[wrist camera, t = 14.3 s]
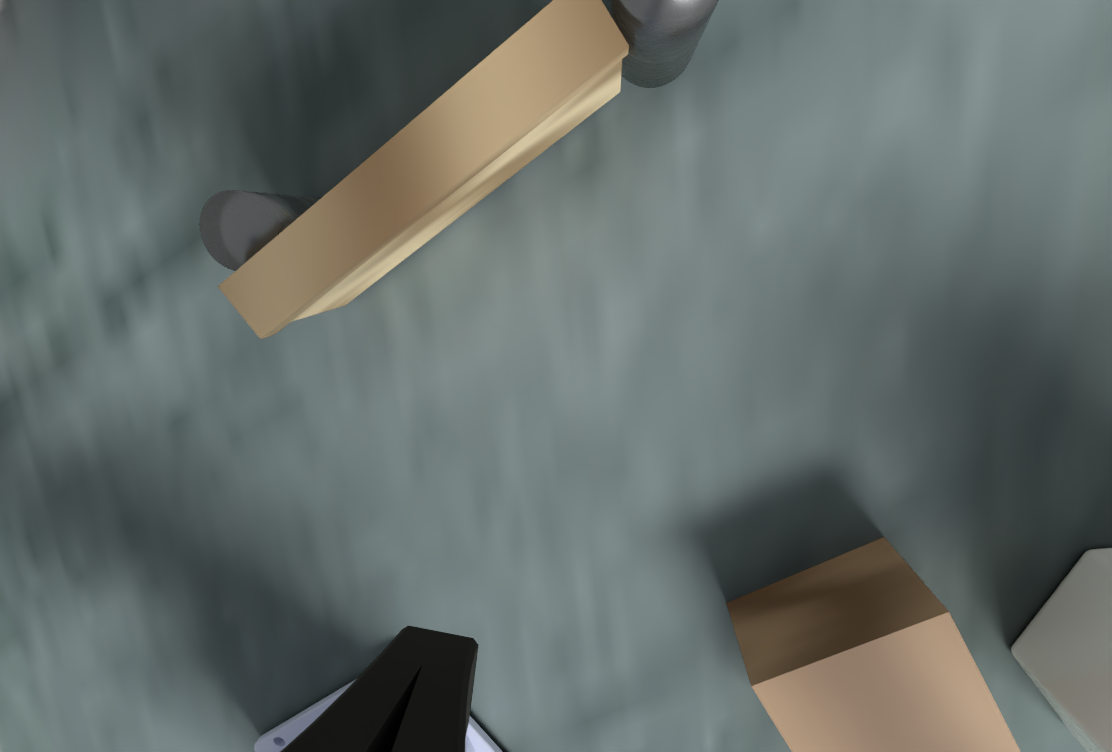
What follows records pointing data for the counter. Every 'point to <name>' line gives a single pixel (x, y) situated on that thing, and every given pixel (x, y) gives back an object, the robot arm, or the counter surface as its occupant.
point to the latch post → (246, 223)
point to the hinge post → (659, 36)
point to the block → (865, 661)
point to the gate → (436, 166)
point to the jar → (1075, 650)
